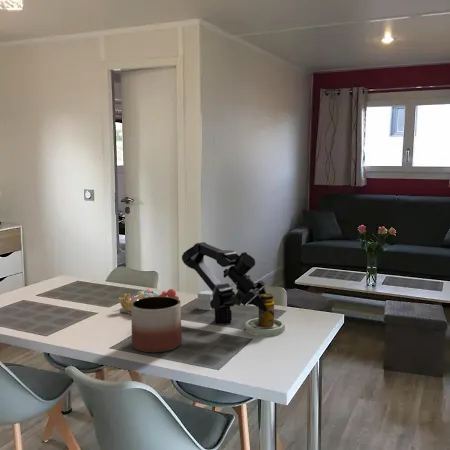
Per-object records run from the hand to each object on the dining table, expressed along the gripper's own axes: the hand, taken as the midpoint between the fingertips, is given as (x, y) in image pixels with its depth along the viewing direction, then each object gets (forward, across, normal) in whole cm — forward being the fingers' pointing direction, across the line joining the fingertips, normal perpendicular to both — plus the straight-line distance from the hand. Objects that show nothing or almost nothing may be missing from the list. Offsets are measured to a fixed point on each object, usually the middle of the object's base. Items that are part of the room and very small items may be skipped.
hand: (268, 308), depth 195 cm
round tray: (+5, 0, -7) cm, 8 cm away
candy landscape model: (-34, -14, -47) cm, 59 cm away
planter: (-19, +26, -31) cm, 45 cm away
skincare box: (-17, -21, -29) cm, 40 cm away
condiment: (+4, 0, -6) cm, 7 cm away
